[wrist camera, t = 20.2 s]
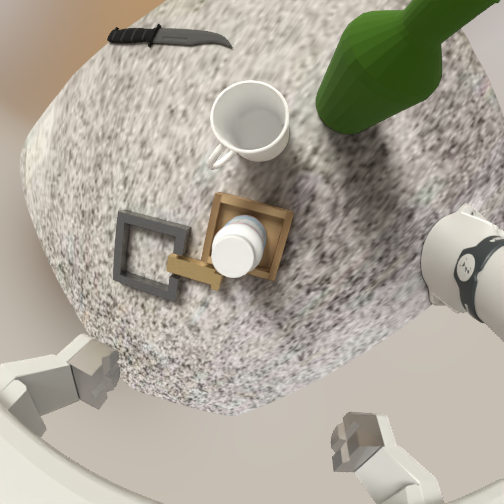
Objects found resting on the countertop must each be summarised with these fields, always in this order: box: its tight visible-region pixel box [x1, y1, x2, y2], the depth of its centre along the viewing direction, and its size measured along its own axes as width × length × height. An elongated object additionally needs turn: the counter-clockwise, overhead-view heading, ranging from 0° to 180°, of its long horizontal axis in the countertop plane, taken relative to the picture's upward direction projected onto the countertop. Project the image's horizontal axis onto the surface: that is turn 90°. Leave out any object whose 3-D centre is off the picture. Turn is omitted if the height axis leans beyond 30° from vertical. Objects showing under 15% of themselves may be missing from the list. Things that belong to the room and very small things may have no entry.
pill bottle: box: [211, 215, 267, 278], centre depth 34 cm, size 6×6×11 cm
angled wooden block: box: [167, 253, 224, 291], centre depth 41 cm, size 9×3×3 cm, turn 76°
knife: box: [107, 24, 233, 48], centre depth 32 cm, size 25×2×5 cm
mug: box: [207, 81, 289, 170], centre depth 31 cm, size 12×8×12 cm
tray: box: [201, 192, 294, 281], centre depth 39 cm, size 11×10×3 cm
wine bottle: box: [316, 0, 500, 134], centre depth 18 cm, size 9×9×32 cm
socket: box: [113, 210, 191, 302], centre depth 42 cm, size 12×12×2 cm
